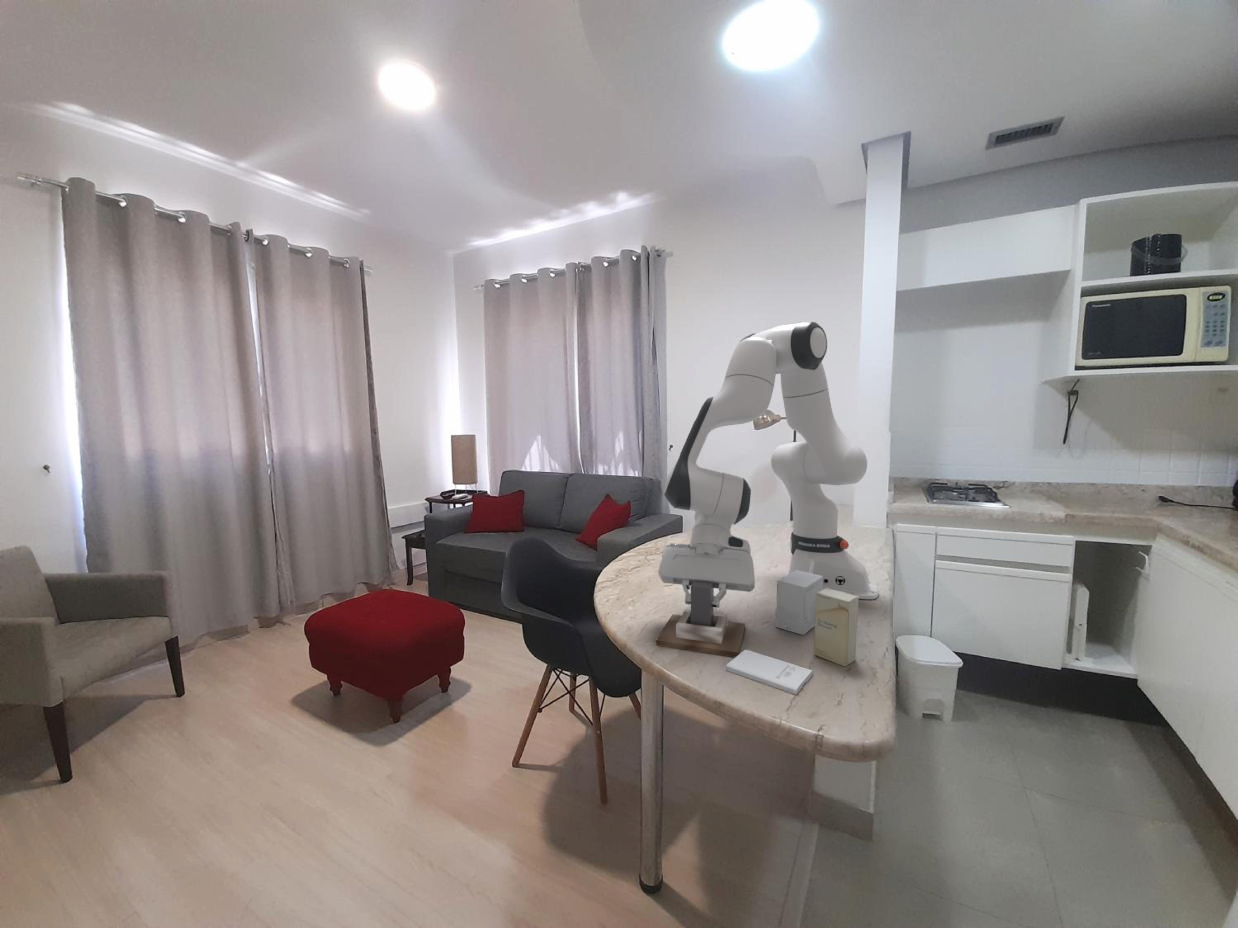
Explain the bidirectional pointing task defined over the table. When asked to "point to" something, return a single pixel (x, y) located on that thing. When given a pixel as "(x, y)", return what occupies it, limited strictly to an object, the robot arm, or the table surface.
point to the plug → (702, 603)
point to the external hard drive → (770, 671)
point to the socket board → (703, 635)
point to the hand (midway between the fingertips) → (701, 604)
